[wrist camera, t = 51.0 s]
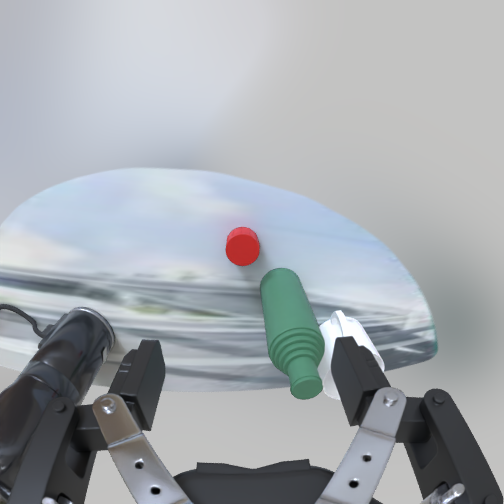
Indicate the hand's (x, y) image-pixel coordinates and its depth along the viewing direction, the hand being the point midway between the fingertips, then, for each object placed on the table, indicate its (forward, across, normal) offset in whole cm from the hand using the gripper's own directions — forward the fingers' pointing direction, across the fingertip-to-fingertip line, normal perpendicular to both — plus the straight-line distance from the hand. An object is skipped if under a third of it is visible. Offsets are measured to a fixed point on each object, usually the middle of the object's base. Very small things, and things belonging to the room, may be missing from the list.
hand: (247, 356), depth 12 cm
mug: (+26, -15, +18) cm, 35 cm away
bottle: (+26, -5, +10) cm, 28 cm away
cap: (+26, 0, +3) cm, 26 cm away
